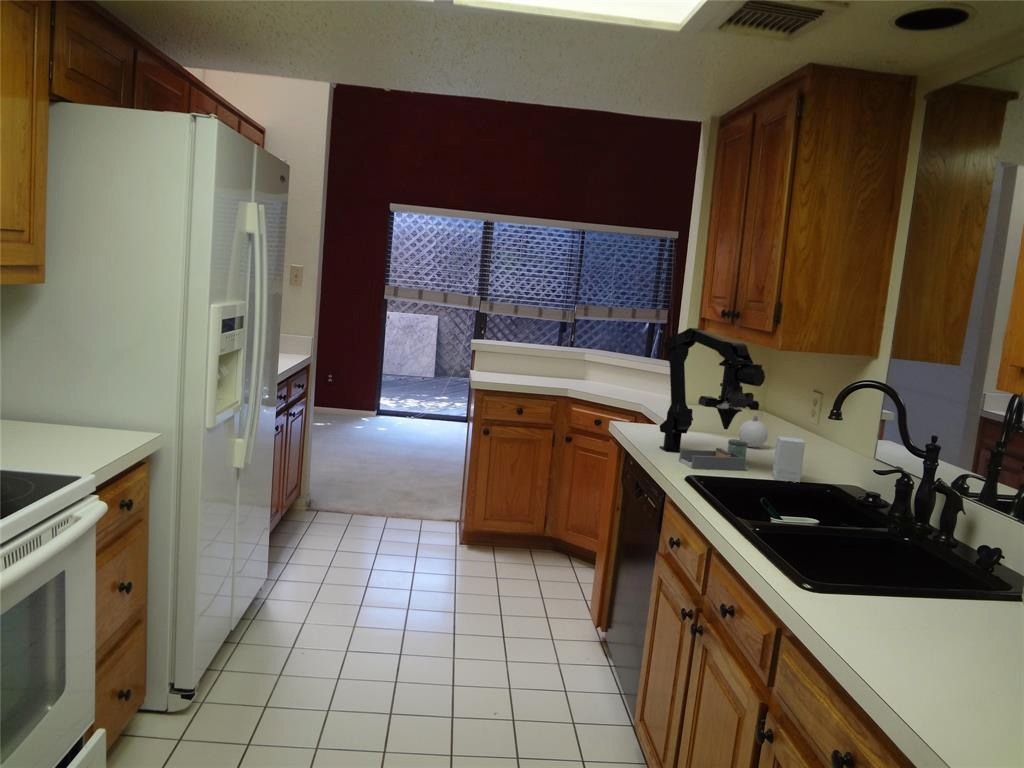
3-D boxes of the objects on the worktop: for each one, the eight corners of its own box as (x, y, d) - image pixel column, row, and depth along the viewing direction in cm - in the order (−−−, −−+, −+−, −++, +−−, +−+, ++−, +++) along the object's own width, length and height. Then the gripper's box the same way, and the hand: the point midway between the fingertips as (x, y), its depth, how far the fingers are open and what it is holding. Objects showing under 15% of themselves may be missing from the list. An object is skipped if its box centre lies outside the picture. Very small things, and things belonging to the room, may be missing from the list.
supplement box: (800, 483, 231) (805, 442, 230) (774, 480, 233) (780, 439, 231) (796, 478, 238) (801, 438, 237) (771, 474, 240) (776, 435, 238)
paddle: (714, 462, 249) (715, 447, 249) (718, 463, 250) (720, 448, 249) (725, 468, 242) (726, 453, 241) (729, 468, 242) (731, 453, 242)
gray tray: (678, 461, 248) (680, 449, 247) (729, 463, 252) (730, 451, 251) (692, 468, 238) (694, 456, 238) (744, 470, 242) (746, 458, 242)
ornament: (756, 451, 278) (760, 418, 277) (732, 445, 286) (736, 413, 284) (771, 449, 285) (775, 417, 284) (747, 443, 293) (750, 412, 291)
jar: (722, 459, 258) (725, 438, 257) (739, 459, 259) (741, 439, 258) (731, 463, 252) (734, 442, 251) (748, 464, 253) (751, 443, 252)
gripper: (716, 383, 235) (709, 432, 237) (771, 387, 238) (764, 435, 240) (700, 378, 245) (694, 425, 247) (753, 382, 249) (747, 428, 251)
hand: (725, 429), depth 246 cm, fingers closed
